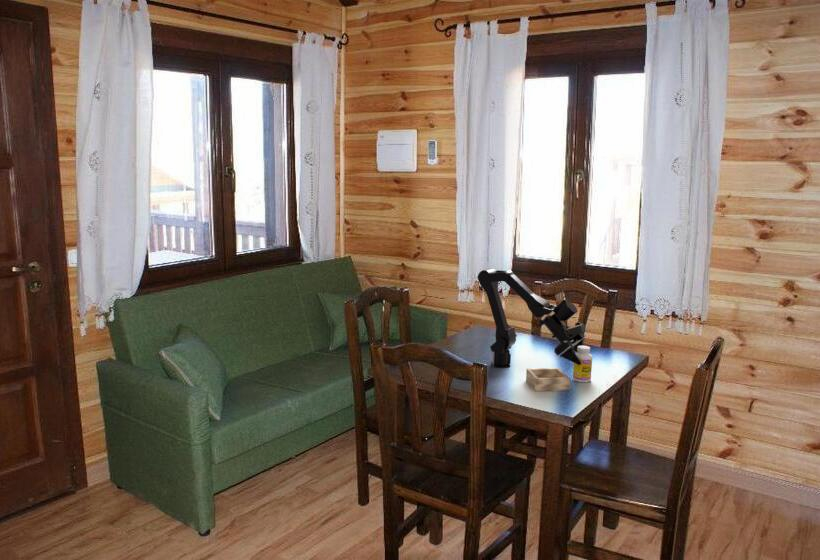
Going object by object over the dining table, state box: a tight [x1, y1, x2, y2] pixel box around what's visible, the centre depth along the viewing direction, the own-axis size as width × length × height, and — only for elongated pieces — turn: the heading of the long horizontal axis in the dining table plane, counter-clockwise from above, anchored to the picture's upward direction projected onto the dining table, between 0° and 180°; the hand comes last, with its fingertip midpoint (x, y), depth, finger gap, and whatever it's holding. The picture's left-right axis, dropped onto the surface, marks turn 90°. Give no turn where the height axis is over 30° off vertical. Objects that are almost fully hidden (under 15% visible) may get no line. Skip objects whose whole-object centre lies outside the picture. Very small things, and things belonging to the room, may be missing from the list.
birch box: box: [525, 367, 571, 392], centre depth 256 cm, size 12×12×5 cm
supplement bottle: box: [572, 345, 593, 383], centre depth 262 cm, size 7×7×13 cm
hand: (584, 361), depth 262 cm, fingers open, 9 cm apart
